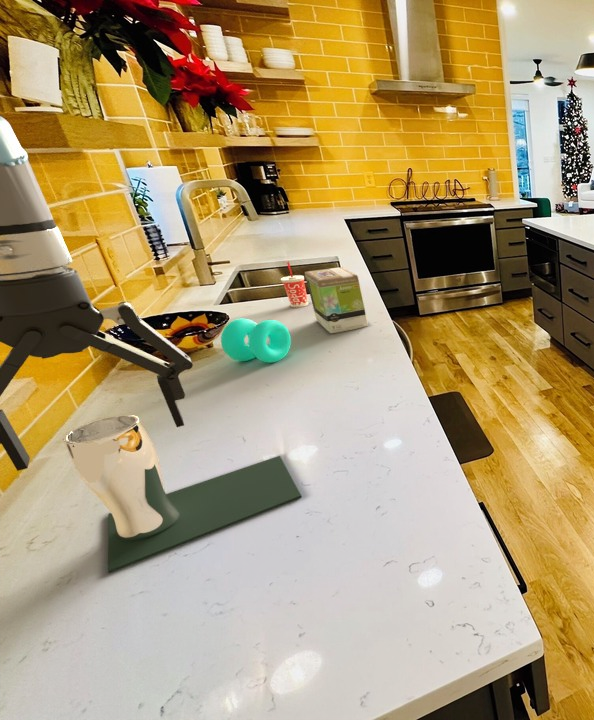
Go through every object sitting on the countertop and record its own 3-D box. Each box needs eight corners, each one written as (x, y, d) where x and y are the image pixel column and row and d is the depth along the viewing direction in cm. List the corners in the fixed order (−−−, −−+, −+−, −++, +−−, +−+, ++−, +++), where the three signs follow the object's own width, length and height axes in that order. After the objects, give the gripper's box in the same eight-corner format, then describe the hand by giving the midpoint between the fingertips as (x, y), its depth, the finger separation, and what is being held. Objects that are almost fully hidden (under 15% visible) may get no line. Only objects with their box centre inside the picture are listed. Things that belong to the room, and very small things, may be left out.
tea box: (370, 326, 140) (358, 274, 134) (330, 335, 134) (316, 281, 128) (353, 314, 150) (342, 265, 144) (316, 321, 144) (302, 270, 138)
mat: (109, 516, 69) (108, 513, 69) (280, 458, 82) (279, 455, 81) (109, 574, 60) (107, 571, 59) (302, 498, 72) (301, 495, 72)
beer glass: (177, 500, 71) (135, 408, 65) (190, 522, 67) (145, 426, 61) (110, 527, 66) (57, 430, 60) (118, 552, 62) (63, 450, 56)
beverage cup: (284, 308, 155) (271, 263, 149) (295, 302, 161) (282, 259, 155) (305, 308, 155) (292, 263, 150) (315, 302, 161) (303, 259, 155)
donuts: (261, 351, 123) (248, 312, 119) (298, 353, 122) (287, 314, 118) (226, 367, 114) (211, 326, 110) (266, 369, 113) (252, 328, 109)
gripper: (-203, 303, 42) (-65, 502, 51) (181, 260, 58) (237, 418, 67) (-171, 285, 47) (-49, 470, 56) (175, 251, 63) (228, 398, 72)
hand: (107, 442), depth 61 cm, fingers open, 13 cm apart
